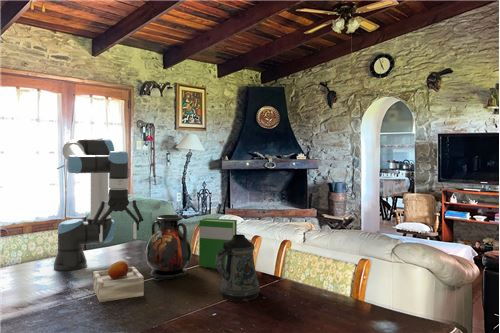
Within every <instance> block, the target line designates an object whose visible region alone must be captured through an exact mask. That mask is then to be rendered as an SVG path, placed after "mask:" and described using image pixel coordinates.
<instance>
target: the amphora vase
mask: <svg viewBox="0 0 500 333" xmlns="http://www.w3.org/2000/svg"><path fill="white" fill-rule="evenodd" d="M154 218H155V221H153V222H152V225H151V236H150V239H149V240H148V241H147V242H148V243H147V244H146V248H145V261H146V263H147V265H148V266H149V267H150V268H151V271H150V275H151V276H152V277H153V278H155V279H158V280H159V279H160V280H174V279H178V278H182V277H183V276H185V275H186V273H187V270H186V267H187V266H188V264H189V263H190V261H191V258H192V247H191V242H190V241H189V239H188V236H187V235H188V230H187V226H186V224H185V223H183V222H181V221H182V220H183V219H184V218H183V216H182V215H179V214H161V215H160V214H159V215H157V216H155V217H154ZM179 222H180V223H179ZM156 225H157V226H158V228H157V230H156ZM180 227H182V230H183V231H182V230H181V229H180Z"/></svg>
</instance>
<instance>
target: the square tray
mask: <svg viewBox="0 0 500 333" xmlns="http://www.w3.org/2000/svg"><path fill="white" fill-rule="evenodd" d="M108 271H109V269H104V270H103V269H102V270H95V271H94V270H93V272H92V273H93V282H92V284H93V288H92V289H93V291H94V293H95V295H96V297H97V299H98V301H99V303H103V302H105V303H106V302H111V301H116V300H117V301H118V300H124V299H128V298H129V299H130V298H136V297H143V296H145V295H144V292H145V288H144V287H145V285H144V283H145V282H144V280H145V279H144V278H145V277H144V275H142V273H140V271H139V270H138V269H137V268H136V267H135V266H128V273H127V276H128V277H127V276H125V277H123V278H122V279H112V278H111V277H110V276H109V275H108Z"/></svg>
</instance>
